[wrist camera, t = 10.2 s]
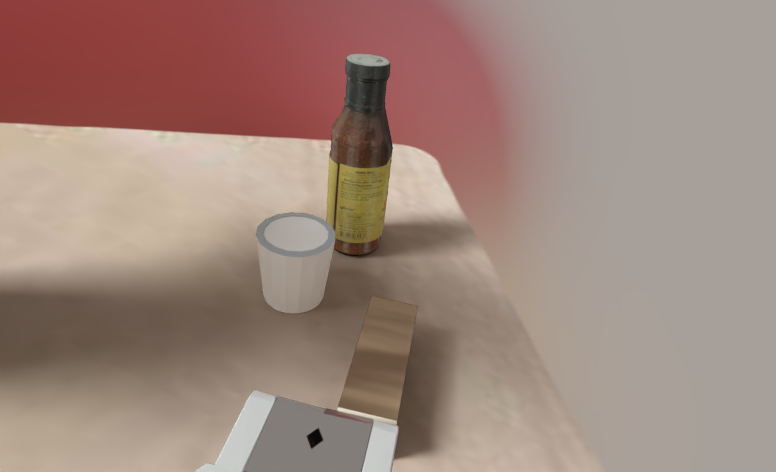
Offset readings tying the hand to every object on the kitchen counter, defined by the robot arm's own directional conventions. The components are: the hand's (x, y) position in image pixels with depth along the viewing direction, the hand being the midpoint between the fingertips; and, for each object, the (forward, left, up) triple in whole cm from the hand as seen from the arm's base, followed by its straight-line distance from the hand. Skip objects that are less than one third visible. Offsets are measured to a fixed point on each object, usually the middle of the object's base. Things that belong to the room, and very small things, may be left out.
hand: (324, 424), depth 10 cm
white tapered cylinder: (+11, +28, -23) cm, 38 cm away
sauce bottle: (+20, +34, -23) cm, 46 cm away
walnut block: (+9, +11, -21) cm, 25 cm away
